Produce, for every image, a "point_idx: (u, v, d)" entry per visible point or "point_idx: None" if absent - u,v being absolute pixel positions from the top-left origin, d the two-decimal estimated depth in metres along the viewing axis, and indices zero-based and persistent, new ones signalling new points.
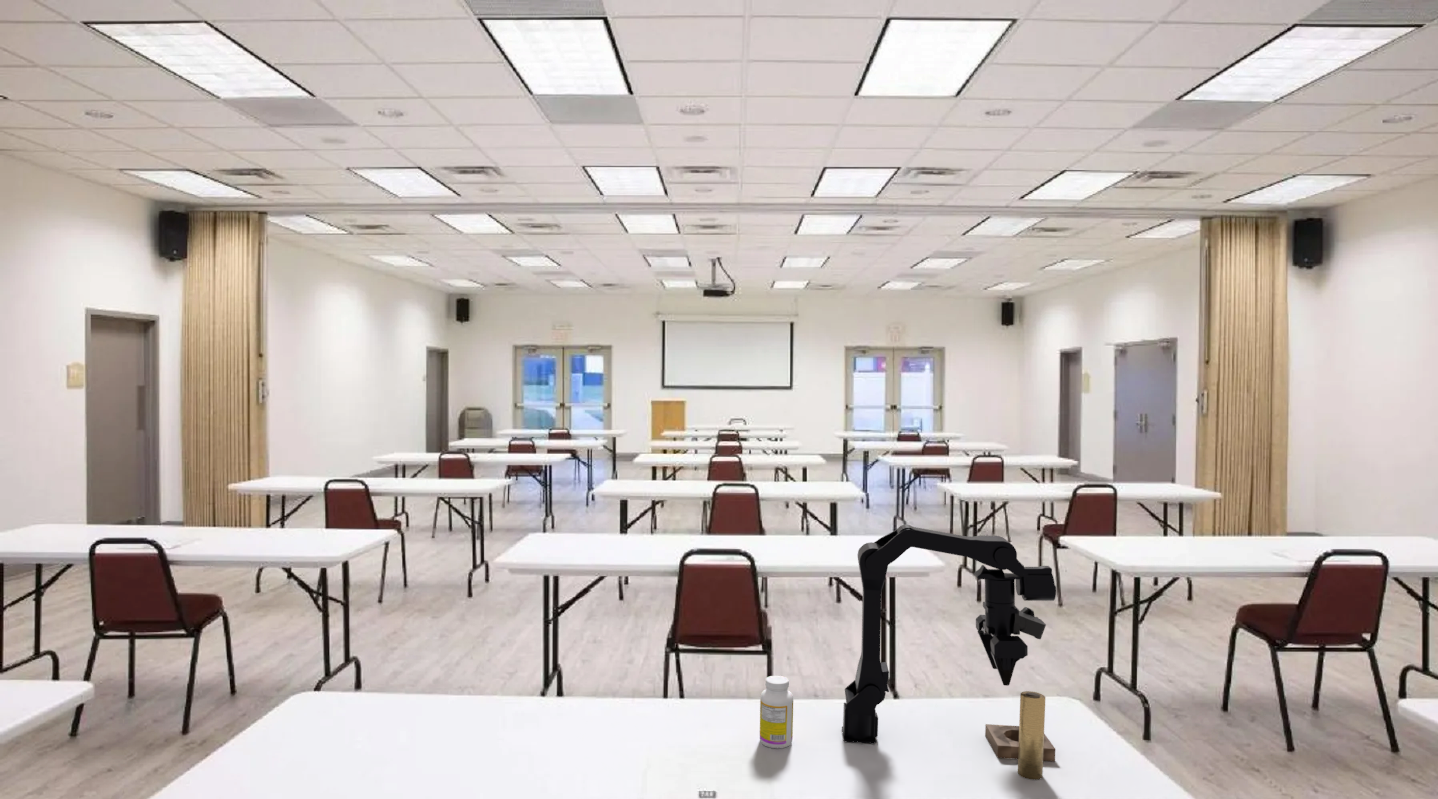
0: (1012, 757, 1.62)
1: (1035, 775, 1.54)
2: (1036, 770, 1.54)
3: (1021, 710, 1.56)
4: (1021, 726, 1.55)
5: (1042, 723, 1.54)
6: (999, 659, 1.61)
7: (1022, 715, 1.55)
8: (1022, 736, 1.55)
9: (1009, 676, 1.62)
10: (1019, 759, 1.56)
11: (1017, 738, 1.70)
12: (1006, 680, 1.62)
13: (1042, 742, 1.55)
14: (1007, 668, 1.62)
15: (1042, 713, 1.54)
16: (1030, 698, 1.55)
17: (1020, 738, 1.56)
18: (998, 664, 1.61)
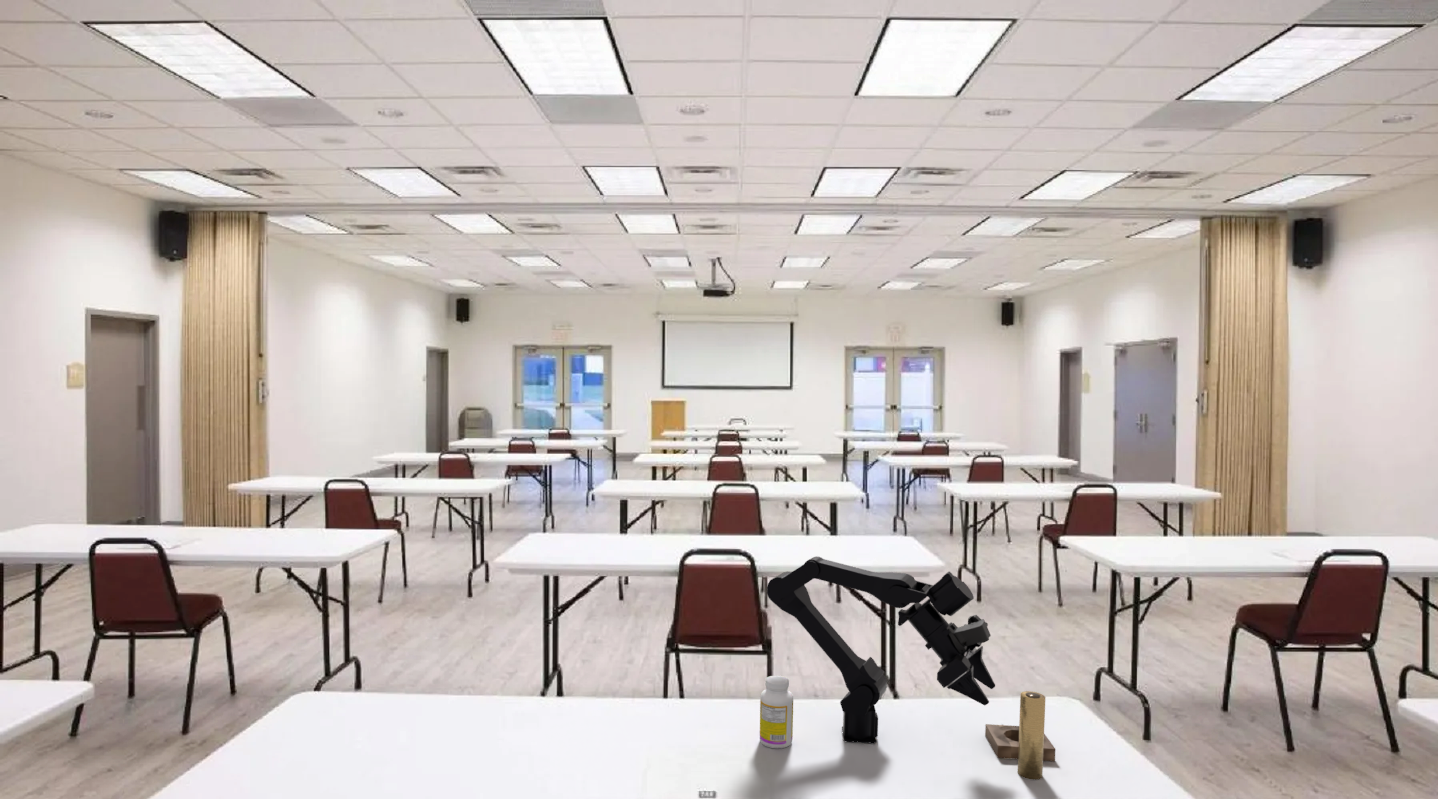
0: (1012, 757, 1.62)
1: (1035, 775, 1.54)
2: (1036, 770, 1.54)
3: (1021, 710, 1.56)
4: (1021, 726, 1.55)
5: (1042, 723, 1.54)
6: (957, 686, 1.56)
7: (1022, 715, 1.55)
8: (1022, 736, 1.55)
9: (980, 694, 1.55)
10: (1019, 759, 1.56)
11: (1017, 738, 1.70)
12: (982, 700, 1.55)
13: (1042, 742, 1.55)
14: (972, 689, 1.55)
15: (1042, 713, 1.54)
16: (1030, 698, 1.55)
17: (1020, 738, 1.56)
18: (961, 691, 1.56)
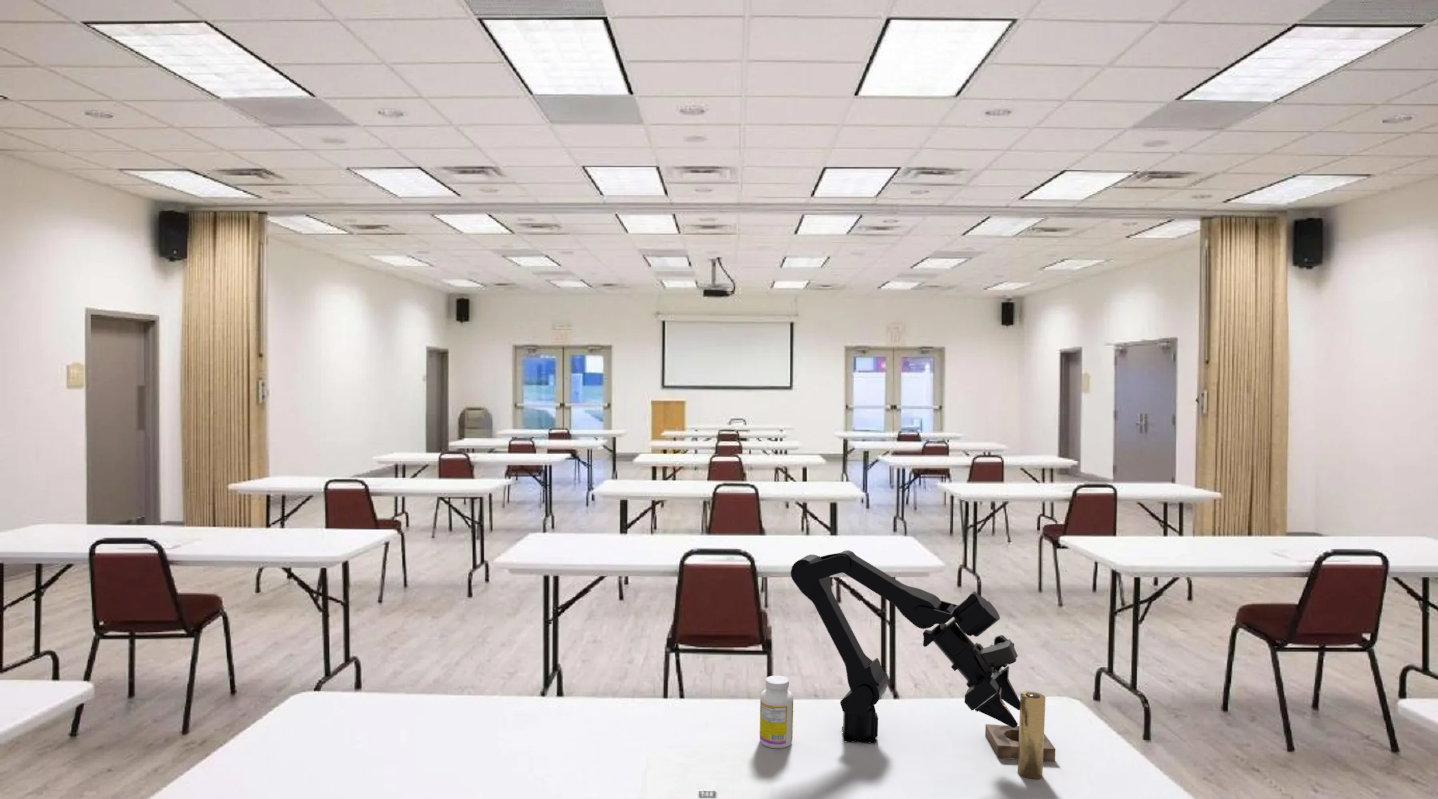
0: (1012, 757, 1.62)
1: (1035, 775, 1.54)
2: (1036, 770, 1.54)
3: (1021, 710, 1.56)
4: (1021, 726, 1.55)
5: (1042, 723, 1.54)
6: (985, 709, 1.53)
7: (1022, 715, 1.55)
8: (1022, 736, 1.55)
9: (1009, 717, 1.53)
10: (1019, 759, 1.56)
11: (1017, 738, 1.70)
12: (1011, 722, 1.53)
13: (1042, 742, 1.55)
14: (1000, 711, 1.53)
15: (1042, 713, 1.54)
16: (1030, 698, 1.54)
17: (1020, 738, 1.56)
18: (989, 713, 1.53)
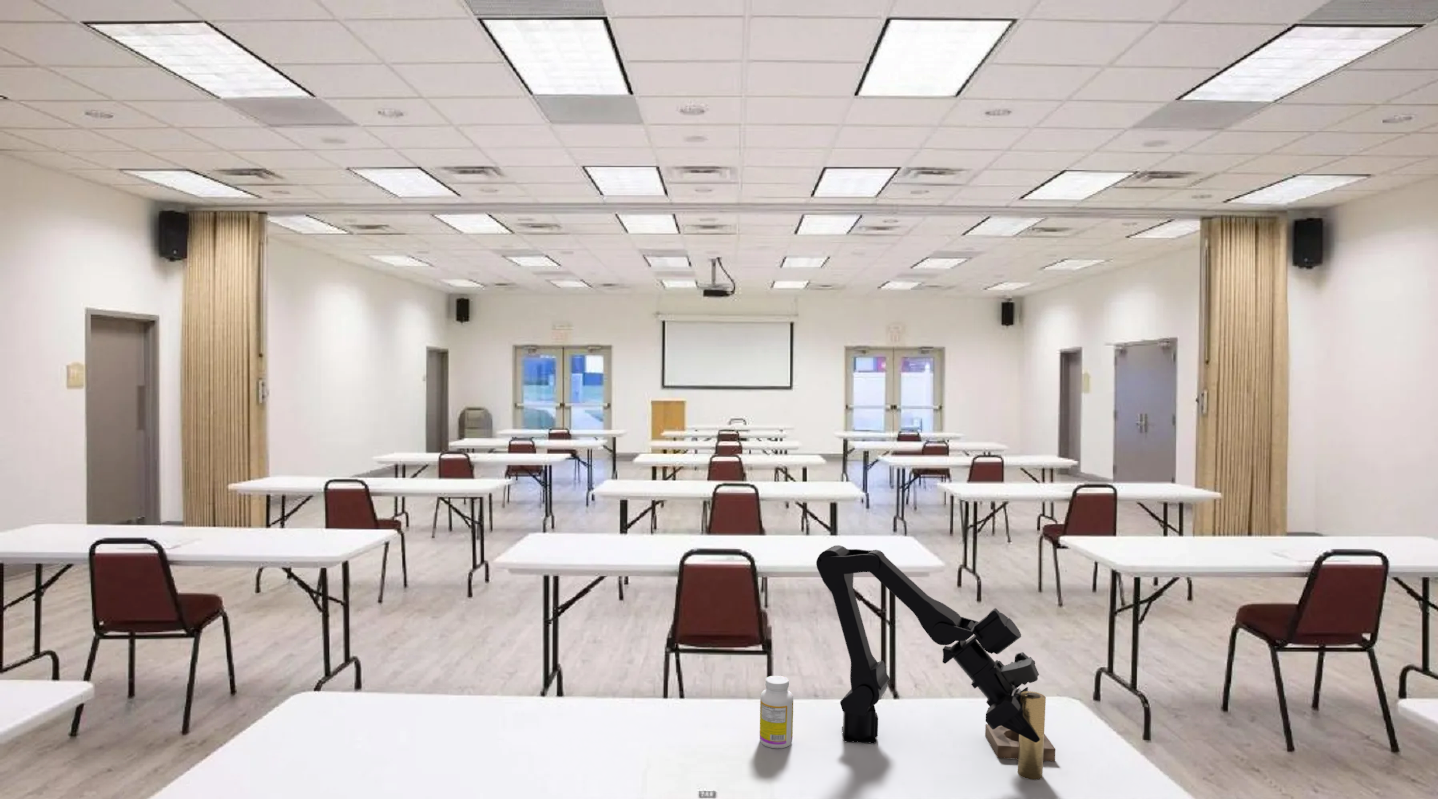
0: (1012, 757, 1.62)
1: (1035, 775, 1.54)
2: (1036, 770, 1.54)
3: None
4: None
5: (1042, 723, 1.54)
6: (1008, 723, 1.54)
7: None
8: (1022, 736, 1.55)
9: (1031, 732, 1.53)
10: (1019, 759, 1.56)
11: (1017, 738, 1.70)
12: (1033, 737, 1.53)
13: (1042, 742, 1.55)
14: (1023, 726, 1.53)
15: (1042, 713, 1.54)
16: (1030, 698, 1.54)
17: (1020, 738, 1.56)
18: (1011, 728, 1.54)
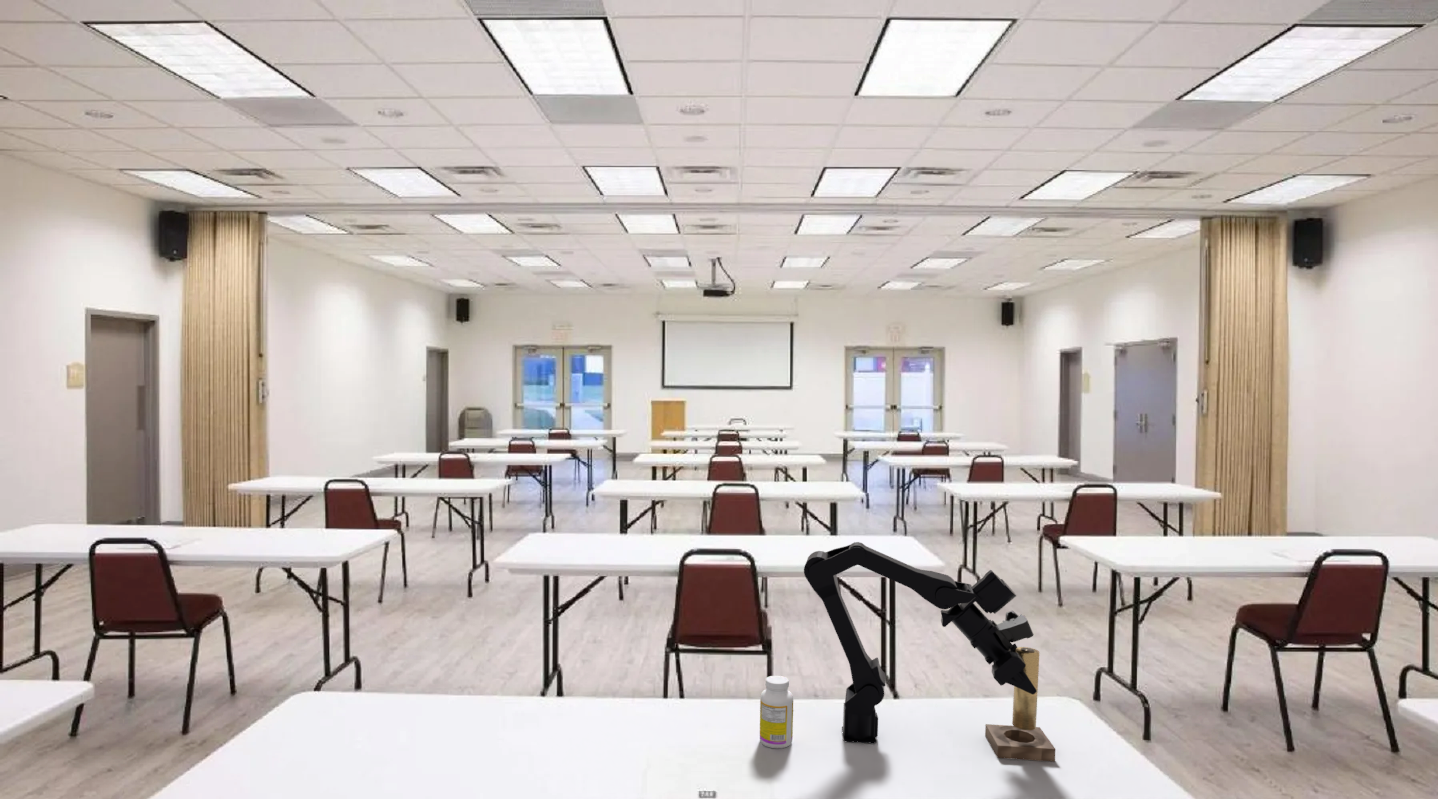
0: (1012, 757, 1.62)
1: (1031, 725, 1.62)
2: (1032, 720, 1.62)
3: None
4: None
5: (1037, 676, 1.63)
6: None
7: None
8: (1019, 690, 1.63)
9: (1030, 684, 1.61)
10: (1015, 712, 1.64)
11: (1017, 738, 1.70)
12: (1031, 689, 1.61)
13: None
14: (1022, 680, 1.61)
15: (1037, 666, 1.62)
16: (1027, 653, 1.62)
17: (1017, 692, 1.63)
18: (1012, 683, 1.61)
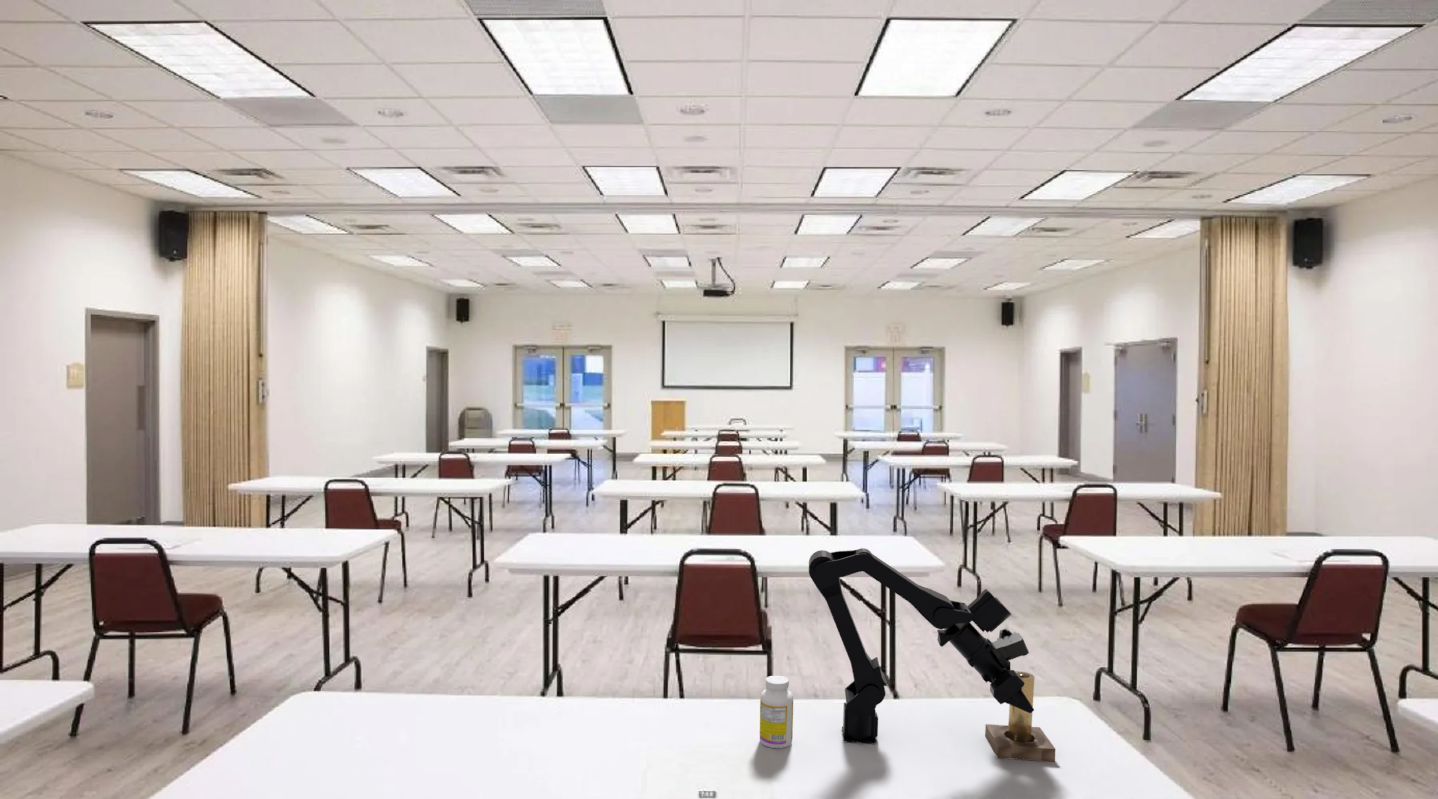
0: (1012, 757, 1.62)
1: None
2: None
3: None
4: None
5: (1032, 700, 1.66)
6: (1007, 698, 1.62)
7: None
8: (1015, 714, 1.65)
9: (1027, 703, 1.63)
10: (1011, 736, 1.66)
11: None
12: (1028, 708, 1.63)
13: (1031, 717, 1.66)
14: (1020, 699, 1.62)
15: (1033, 690, 1.65)
16: (1023, 678, 1.65)
17: (1012, 716, 1.66)
18: (1010, 702, 1.62)
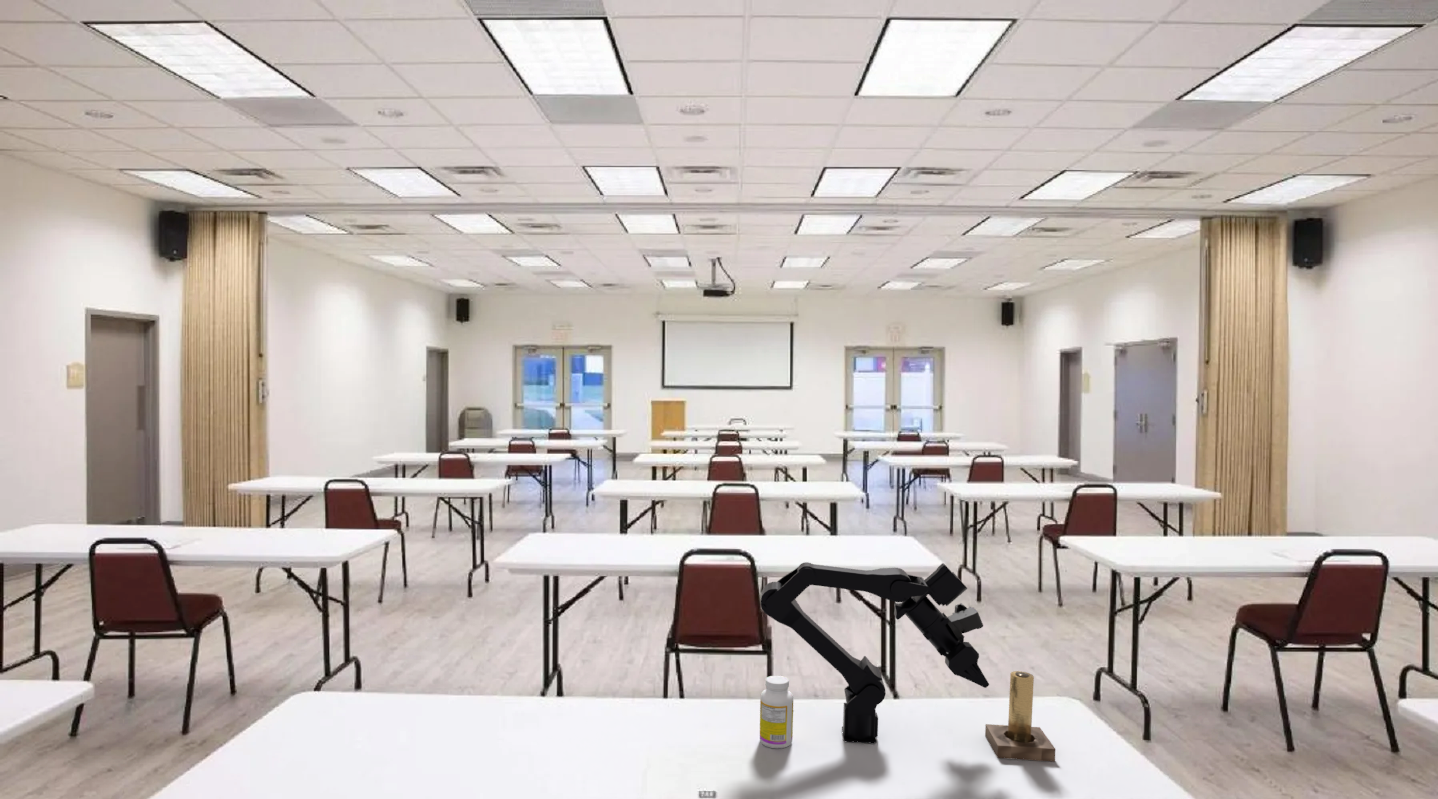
0: (1012, 757, 1.62)
1: None
2: None
3: (1013, 690, 1.66)
4: (1014, 704, 1.66)
5: (1032, 700, 1.66)
6: (963, 672, 1.62)
7: (1015, 695, 1.65)
8: (1015, 714, 1.65)
9: (983, 678, 1.63)
10: (1011, 736, 1.66)
11: None
12: (983, 683, 1.63)
13: (1031, 717, 1.66)
14: (976, 673, 1.63)
15: (1032, 690, 1.65)
16: (1022, 678, 1.65)
17: (1012, 716, 1.66)
18: (966, 676, 1.62)
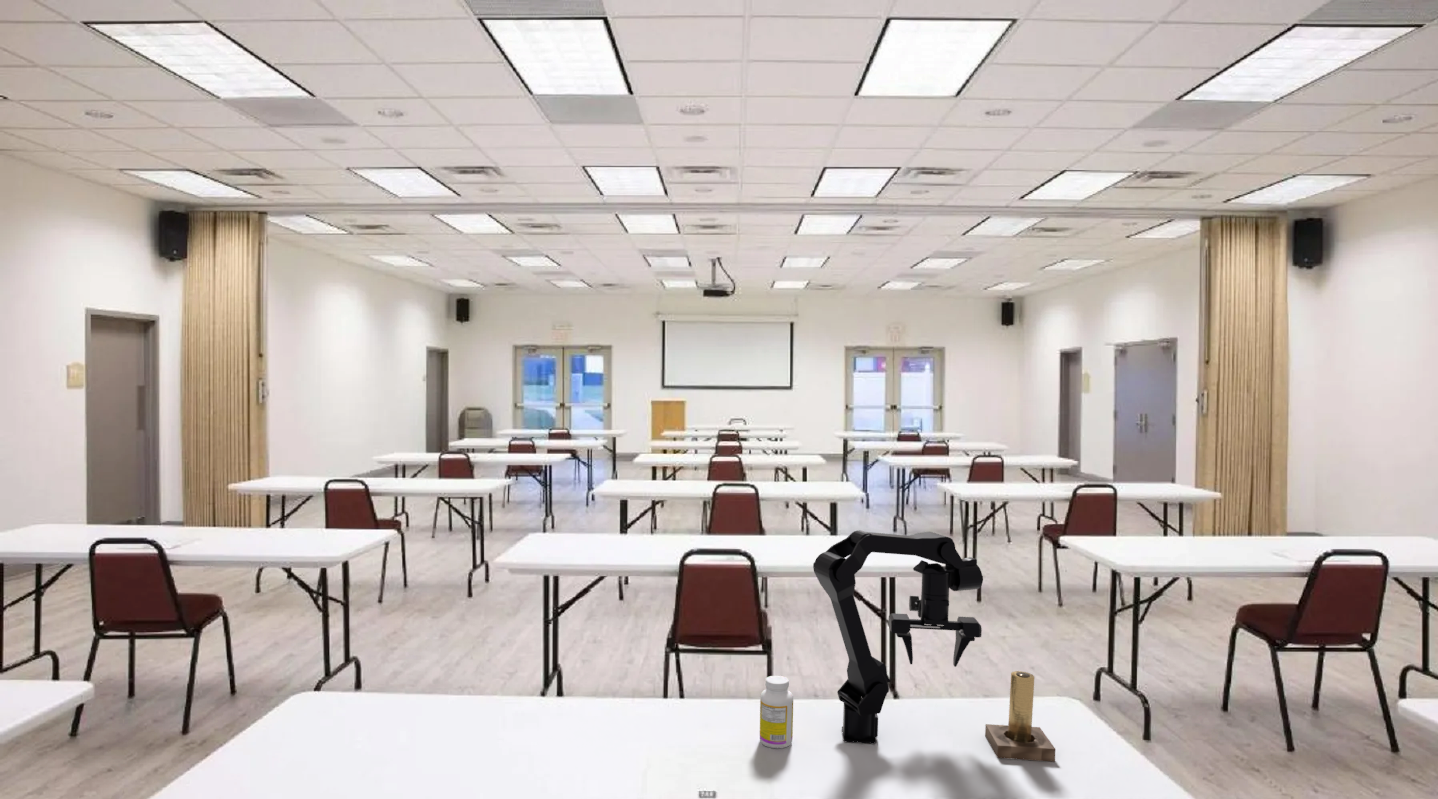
0: (1012, 757, 1.62)
1: None
2: None
3: (1014, 690, 1.66)
4: (1014, 704, 1.65)
5: (1032, 700, 1.66)
6: None
7: (1016, 695, 1.65)
8: (1015, 714, 1.65)
9: None
10: (1011, 736, 1.66)
11: None
12: None
13: None
14: None
15: (1033, 690, 1.65)
16: (1023, 678, 1.65)
17: (1012, 716, 1.66)
18: None
